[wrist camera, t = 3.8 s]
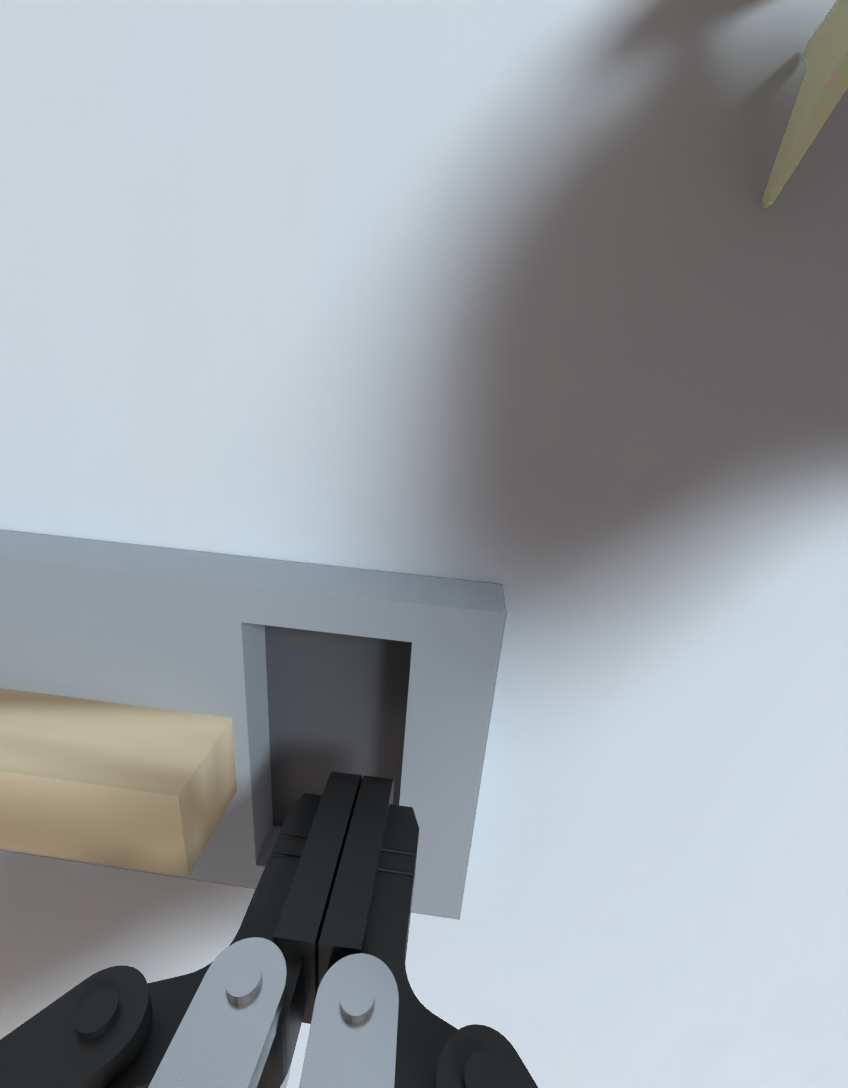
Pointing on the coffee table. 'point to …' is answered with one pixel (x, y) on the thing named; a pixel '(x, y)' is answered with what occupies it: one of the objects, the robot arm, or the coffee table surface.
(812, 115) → the grey crescent shape
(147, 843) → the beech dowel
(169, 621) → the grey pocketed tray
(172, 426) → the coffee table surface
